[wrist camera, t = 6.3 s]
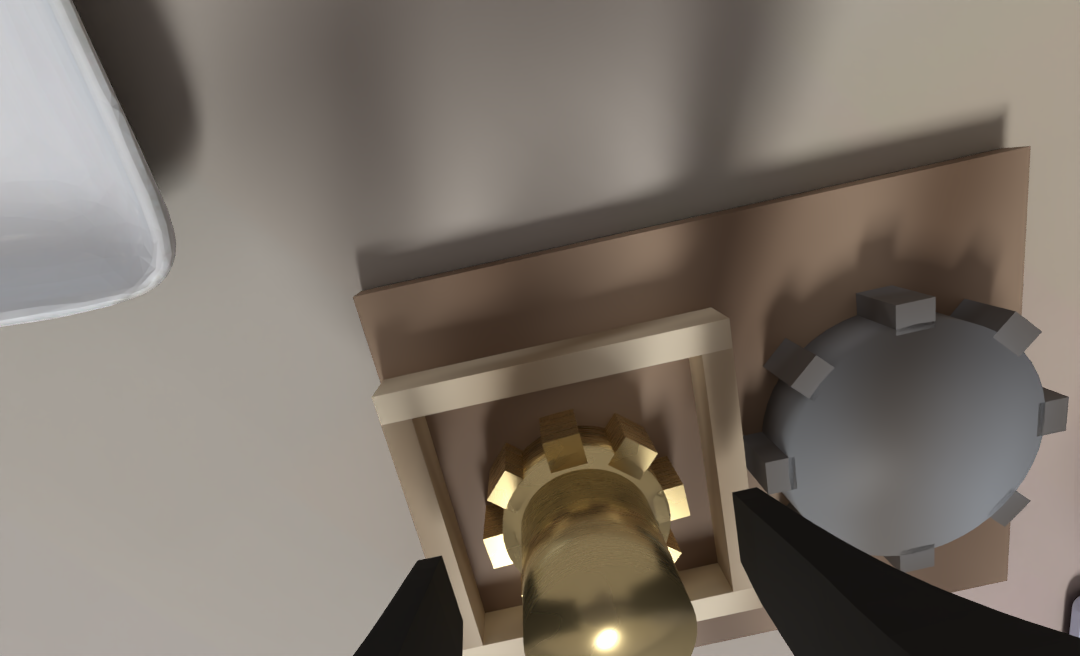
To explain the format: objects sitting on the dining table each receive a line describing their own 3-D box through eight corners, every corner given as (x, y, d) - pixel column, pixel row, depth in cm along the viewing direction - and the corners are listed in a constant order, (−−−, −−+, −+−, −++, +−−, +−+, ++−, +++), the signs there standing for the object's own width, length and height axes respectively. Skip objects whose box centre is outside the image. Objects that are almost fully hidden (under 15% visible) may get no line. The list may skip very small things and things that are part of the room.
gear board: (1001, 148, 14) (1094, 141, 12) (985, 563, 18) (1053, 617, 15) (361, 291, 14) (333, 310, 12) (483, 670, 18) (478, 739, 16)
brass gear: (650, 386, 14) (720, 487, 10) (688, 545, 16) (764, 701, 11) (461, 439, 14) (436, 565, 10) (516, 591, 16) (518, 765, 11)
